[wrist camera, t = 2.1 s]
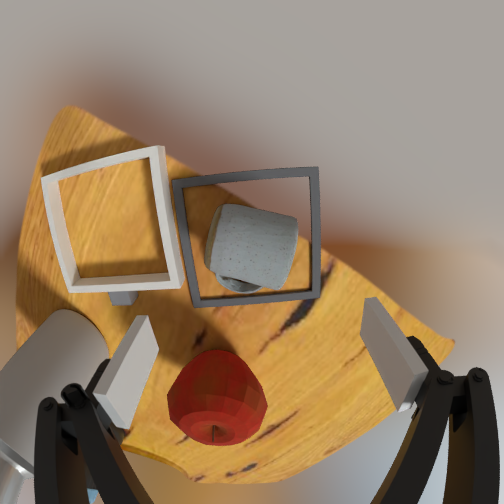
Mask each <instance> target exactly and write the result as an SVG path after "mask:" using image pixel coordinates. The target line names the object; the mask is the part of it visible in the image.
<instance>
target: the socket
mask: <svg viewBox="0 0 504 504" xmlns="http://www.w3.org/2000/svg"><path fill="white" fill-rule="evenodd" d="M149 157H150V166H151V174H152V181H153V188H154V195H155V202H156V208H157V214H158V220H159V226H160V231H161V237H162V242H163V247H164V252H165V257H166V262H167V267H168V272H169V273H155V274H140V275H126V276H111V277H95V278H80V275H79V272H78V269H77V265H76V262H75V259H74V255H73V251H72V247H71V244H70V240H69V236H68V231H67V227H66V222H65V218H64V213H63V208H62V202H61V197H60V191H59V184H58V181H59V180H62V179H65V178H69V177H72V176H75V175H79V174H82V173H86V172H89V171H93V170H97V169H101V168H105V167H109V166H113V165H117V164H121V163H126V162H130V161H135V160H139V159H144V158H149ZM41 183H42V189H43V196H44V201H45V207H46V212H47V217H48V221H49V226H50V230H51V235H52V239H53V243H54V246H55V250H56V254H57V257H58V261H59V264H60V267H61V271H62V274H63V277H64V280H65V283H66V286H67V289H68V291H69V293H85V292H108V294H109V297H110V300H111V303H112V305H132V304H133V303H134V301H135V300H136V298H137V297H138V292H137V291H139V290H158V289H176V288H181V286H182V284H183V282H184V280H185V277H184V272H183V267H182V261H181V256H180V251H179V245H178V239H177V234H176V228H175V222H174V215H173V209H172V202H171V195H170V188H169V180H168V173H167V164H166V156H165V146H160V145H157V146H152V147H147V148H142V149H137V150H133V151H129V152H124V153H120V154H116V155H112V156H108V157H105V158H101V159H97V160H94V161H90V162H87V163H83V164H80V165H77V166H74V167H70V168H67V169H64V170H61V171H58V172H55V173H52V174H50V175H47V176H44V177H41Z"/></svg>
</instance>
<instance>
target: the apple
mask: <svg viewBox="0 0 504 504" xmlns="http://www.w3.org/2000/svg"><path fill="white" fill-rule="evenodd" d="M167 400H168V408H169V415H170V420H171V421H172V422H173V423H174V424H175V425H176V426H177V427H178V428H179V429H181V430H182V431H183V432H184V433H185V434H186V435H187V436H189V437H190V438H192V439H193V440H195V441H198V442H200V443H203V444H205V445H215V446H226V445H234V444H238V443H241V442H243V441H245V440H246V439H248V438H250V437H251V436H252V435H254V434H255V433H256V432H257V431H258V430H259V429H260V426H261V424H262V421H263V418H264V416H265V413H266V410H267V407H268V405H267V402H266V398H265V395H264V392H263V389H262V386H261V385H260V383H259V381H258V380H257V378H256V377H255V375H254V374H253V372H252V371H251V370H250V368H249V367H248V365H247V364H246V363H245V362H244V361H243V360H242V359H241V358H240V357H239V356H237V355H235V354H232V353H230V352H228V351H222V350H217V349H216V350H210V351H205V352H203V353H201V354H199V355H197V356H196V357H195V358H194V359H193V360H192V361H190V362H189V363H188V364H187V365H186V366H185V367H184V368H183V369H182V370H181V372H180V374H179V375H178V377H177V379H176V380H175V382H174V383H173V385H172V387H171V389H170V390H169V392H168V394H167Z"/></svg>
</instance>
